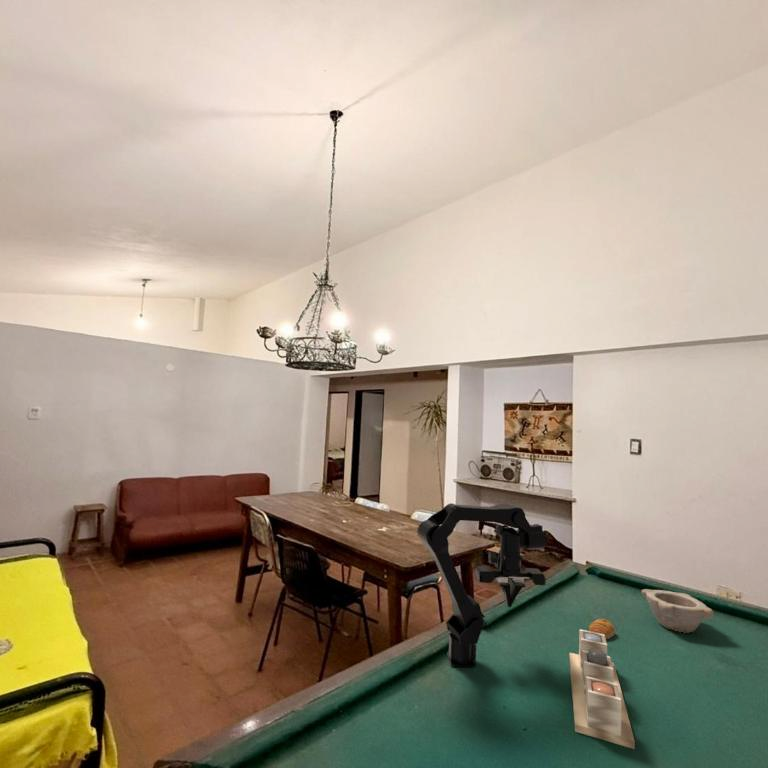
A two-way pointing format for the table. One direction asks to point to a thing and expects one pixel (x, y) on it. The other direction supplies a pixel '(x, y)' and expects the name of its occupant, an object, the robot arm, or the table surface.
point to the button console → (598, 696)
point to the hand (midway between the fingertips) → (509, 606)
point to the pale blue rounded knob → (592, 637)
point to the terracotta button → (602, 688)
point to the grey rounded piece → (597, 657)
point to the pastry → (602, 628)
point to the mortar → (677, 610)
